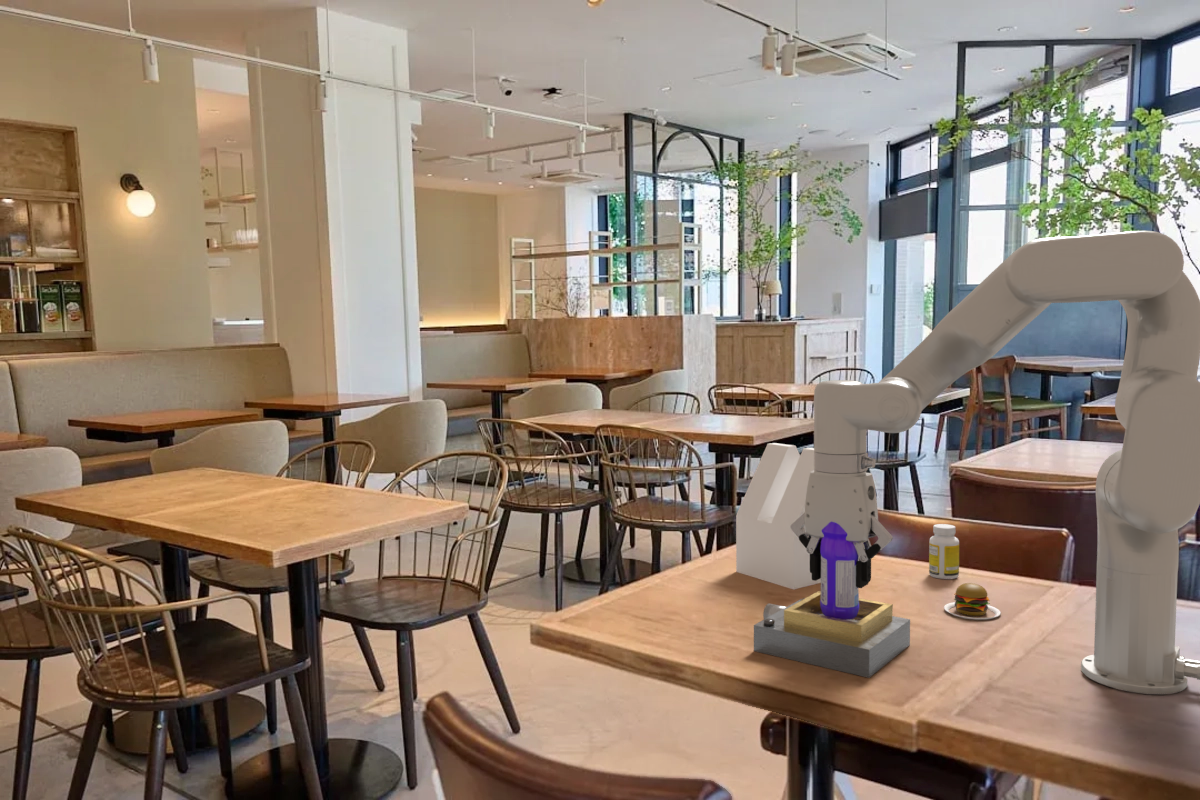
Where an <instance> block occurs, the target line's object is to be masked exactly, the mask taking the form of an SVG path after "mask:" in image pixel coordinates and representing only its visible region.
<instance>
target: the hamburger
mask: <svg viewBox="0 0 1200 800" xmlns="http://www.w3.org/2000/svg"><path fill="white" fill-rule="evenodd" d="M953 596H954V598H953V600H954V602H949V603H946V604H945V605H944V606H943V609H944V611H945V612H946V613H949V614H950V615H952V616H954V617H958V618H962V619H966V620H967V619H968V620H974V621H984V620H985V621H986V620H992V619H994V618H997V617H1000V616H1001V614H1002V612H1001V610H1000V609H998V608H997V607H995V606H991V603H989V602H990V598H989V597H988V591H987V590H986V588H985V587H983V586H982V585H980V584H978V583H973V582H966V583H962V584H960V585H959V586H958V587H957V588H956V590H955V592H954V593H953ZM952 608H955V609H956V611H957V613H959V614H960V615H959V614H956V613H952V612H950V609H952ZM987 611H991V612H993V613H994V616H992V617H991V616H990V617H981V616H985V614H987ZM961 614H962V615H961ZM963 615H964V616H963Z"/></svg>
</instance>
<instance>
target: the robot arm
mask: <svg viewBox="0 0 1200 800" xmlns="http://www.w3.org/2000/svg"><path fill="white" fill-rule="evenodd" d="M1184 264H1185V261H1184V254H1183V252H1182V249H1181V247H1180V246H1179V245H1178V243H1177V242H1176V241H1175V240H1174V239H1173V238H1171V237H1170V236H1168V235H1166V234H1164V233H1161V232H1159V231H1153V230H1135V231H1133V230H1132V231H1123V232H1111V233H1100V234H1089V235H1088V234H1087V235H1077V236H1073V235H1072V236H1061V237H1060V236H1057V237H1056V236H1055V237H1042V238H1036V239H1033V240H1031V241H1028V242H1026V243H1024V244H1023V245H1021V246H1020V247H1018V248H1017V249H1016V250H1014V251H1013V252H1012V253H1011V254H1010V255H1009V256H1008V257H1007V258H1005V260H1003V262H1001V263H1000V264H999V265H998V266H997V267H996V268H995V269H994V270H993V271H992V272H991V273H990V274H988V275H987V276H986V277H985V278H984V279H983V280H982V281H981V282H980V283H979V284H978V285H977V286H976V287H975V288H974V289H973V290H972V291H971V292H969V293H968V295H966V296H965V297H964V298H963V299H962V300H961V301H960V302H959V303H957V304H956V306H955V307H953V308H952V309H951V310H950V311H949V312H948V313H947V314H946V315H945V316H944V317H943V318H942V319H941V320H940V321H939V322H938V323H937V325H935V327H934V328H933V330H932V331H931V332H930V333H929V334H928V335H926V337H925V338H924V339H923V340H922V341H921V342H920V343H919V344H918V345H917V346H916V347H915V348H914V349H913V350H912V351H911V352H909V354H907V355H906V356H905V357H904V358H903V359H902V360H901V361H900V362H899V363H898V364H897V365H896V366H894V368H892V369H891V370H890V371H889V372H888V373H887V374H886V375H885V376H884V377H883V378H882V379H880V381H878V382H871V383H862V382H860V381H857V380H848V379H847V380H843V379H842V380H839V379H837V380H834V379H833V380H824V381H821V382H819V383H817V384H816V385H815V388H814V389H813V392H814V393H813V448H814V470H813V471H811V472H810V476H809V481H808V486H807V492H806V500H805V513H804V514H802V515H801V516H800V517H799V518H798V519H797V520H796V521H795V522H794V523H792V524H791V526H790V527H791V529H792V531H793V532H794V533H795V534H796V536H797V537H799V540H800V542H801V543H802V544H803V545H804V546H805V548H806V551H807V553H808V554H810V573H812V580H814V581H816V580H818V579H820V578H821V553H820V546H821V539H822V538H823V537H824V535H823V533H822V529H823V528H824V527H825V526H827V524H829V523H830V522H831V521H832V522H835V523H837V524H839V525H840V526H841V527H842V528H843V529H844V530H845V531H846V533H847V537H846V540H847V541H849V542H853V543H854V546H855V548H856V551H857V553H858V556H859V561H857V562H856V587H857V588H858V589H863V588H864V587H867V586H868V585H869V582H871V579H872V559H873V558H875V556H876V555H877V554H879V553H880V552H881V551H882V550H883V549H884V548H885V547H886V546H888V545H889V544H890V543H891V542H892V541H893V539H894V538H893V537H894V536H893V535H892V534H891V533H890V532H889V531H888V530H887V529H886V528H885V526H884V525H883V524H882V523H881V522H880V521H879V512H878V511H879V510H878V501H877V493H876V492H877V491H876V487H875V482H874V481H875V480H874V476H873V473H871V472H867V471H868V470H869V469H870V468H873V469H874V468H875V467H876V462H877V461H876V459H875V458H871V457H869V452H867V431H874V432H880V433H881V432H882V433H887V434H889V433H890V434H898V433H902V432H906V431H908V430H910V429H911V428H914V426H915V425H916V424H917V422H919V419H920V418H921V414H922V411H923V410H924V409H925V408H926V407H928V406H929V404H931V403H932V402H933V401H935V399H936V398H937V397H938V396H939V395H940V394H942V393H943V392H945V390H946V389H947V388H949V386H951V385H952V384H953V383H955V381H957V380H958V379H960V378H961V377H962V376H963V375H965V374H966V373H968V372H970V371H971V370H973V369H975V368H978V367H979V366H982V365H983V364H985V363H986V362H987V361H988V360H990V359H991V358H993V357H994V356H995V355H996V354H998V352H1000V350H1002V349H1003V348H1004V347H1005V346H1006V345H1007V344H1008V343H1009V342H1011V340H1013V339H1014V338H1015V336H1017V335H1018V334H1019V333H1020V332H1021V331H1022V330H1023V329H1025V328H1026V327H1027V326H1028V325H1029V324H1030V323H1031V322H1032V321H1034V320H1035V319H1036V318H1037V317H1038V316H1040V314H1041V313H1042V312H1043V311H1045V310H1046V309H1047V308H1048V307H1049V306H1050V305H1051V304H1060V303H1061V304H1065V303H1067V304H1068V303H1069V304H1071V303H1090V302H1091V303H1092V302H1093V303H1095V302H1108V301H1118V302H1119V303H1120V305H1121V306H1122V309H1124V312H1125V315H1126V319H1127V336H1126V344H1125V353H1124V358H1123V362H1122V368H1121V374H1120V378H1119V383H1118V388H1117V393H1116V397H1115V402H1114V403H1115V404H1114V411H1115V416H1116V418H1117V420H1118V422H1119V424H1120V425H1121V426H1122V427H1123V428H1124V429H1125V430H1124V437H1123V443H1122V448H1121V449H1120V450H1117V451H1115V452H1113V454H1111V455H1110V456H1108V457H1107V458H1106V459H1105V460H1104V461H1103V463H1102V464H1101V466H1100V467H1099V469H1098V472H1097V474H1096V481H1095V503H1096V504H1095V505H1096V518H1097V519H1096V521H1097V547H1096V548H1097V549H1096V550H1097V551H1096V555H1097V556H1096V573H1095V575H1096V581H1095V584H1096V585H1095V609H1094V610H1095V611H1094V616H1095V617H1094V647H1093V648H1094V650H1093V653H1094V654H1090V655H1087V656H1085V657H1084V658H1082V660H1081V664H1080V665H1081V666H1080V669H1081V672H1082V673H1083V674H1084V675H1085V676H1086V677H1087V678H1089V679H1090V680H1092V681H1094V682H1096V683H1098V684H1100V685H1104V686H1106V687H1110V688H1111V689H1112V688H1113V689H1116V690H1121V691H1125V692H1130V693H1134V694H1135V693H1136V694H1145V695H1170V694H1176V693H1180V692H1181V691H1184V690H1185V689H1186V688H1188V678H1192V679H1196V680H1198V681H1200V660H1196V659H1189V658H1185V656H1183V655H1180V649H1181V647H1180V646H1179V645H1178V646H1177V645H1176V629H1177V628H1176V627H1177V626H1176V623H1177V594H1178V571H1179V557H1180V555H1179V553H1180V551H1179V529H1181V528H1182V527H1184V526H1186V525H1187V523H1189V522H1190V521H1191V519H1193V517H1194V516H1195V515H1196V513H1197V512H1198V509H1199V506H1200V381H1199V380H1197V378H1198V371H1199V365H1200V297H1199V295H1198V292H1197V291H1196V289H1195V287H1194V285H1193V283H1192V282H1191V280H1190V279H1189V277H1188V275H1187V274H1186V273H1185V272H1184ZM804 525H805V529H804ZM874 537H877V538H878V539H877V540H876V542H875V543H873V544H871V541H870V539H873V538H874Z"/></svg>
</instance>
